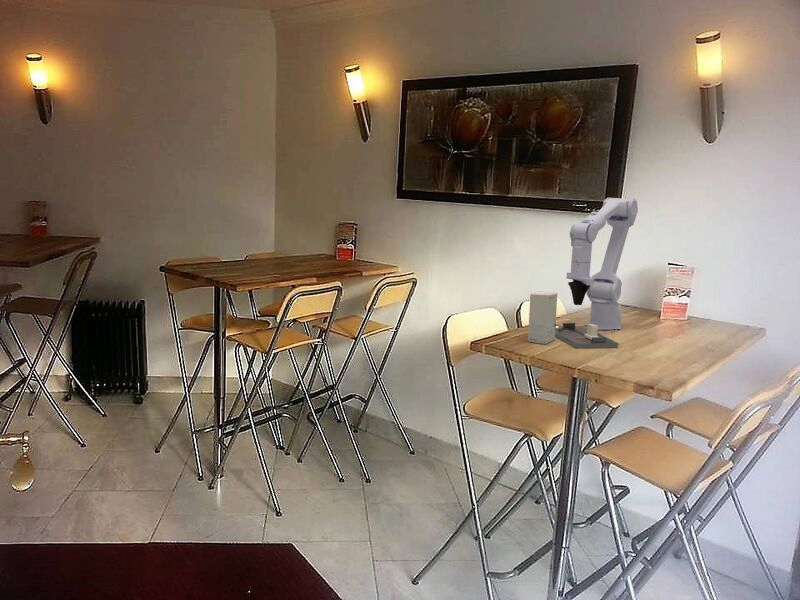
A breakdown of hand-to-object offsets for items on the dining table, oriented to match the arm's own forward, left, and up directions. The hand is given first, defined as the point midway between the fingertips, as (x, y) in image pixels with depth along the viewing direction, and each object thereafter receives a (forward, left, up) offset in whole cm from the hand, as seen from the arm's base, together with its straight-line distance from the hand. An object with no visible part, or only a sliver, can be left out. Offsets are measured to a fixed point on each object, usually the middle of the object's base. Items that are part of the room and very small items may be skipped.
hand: (577, 304), depth 187 cm
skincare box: (+14, +6, -10) cm, 18 cm away
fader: (0, +11, -8) cm, 13 cm away
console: (+1, +5, -10) cm, 11 cm away
